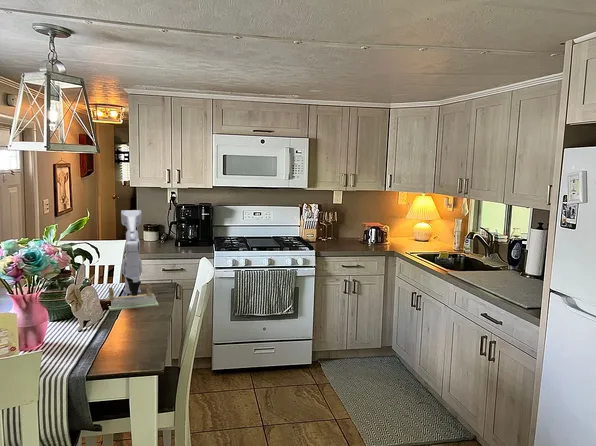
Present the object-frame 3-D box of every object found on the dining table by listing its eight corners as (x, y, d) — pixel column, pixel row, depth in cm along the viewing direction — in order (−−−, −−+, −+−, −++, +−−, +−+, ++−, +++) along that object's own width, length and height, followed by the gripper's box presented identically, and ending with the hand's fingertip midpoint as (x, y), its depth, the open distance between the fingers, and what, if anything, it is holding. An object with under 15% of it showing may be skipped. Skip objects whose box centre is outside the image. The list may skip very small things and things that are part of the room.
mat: (108, 305, 228) (108, 304, 228) (155, 300, 237) (155, 299, 237) (109, 310, 221) (109, 309, 220) (158, 305, 230) (158, 304, 230)
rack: (105, 300, 236) (104, 287, 235) (153, 295, 246) (153, 283, 245) (106, 304, 230) (106, 291, 229) (155, 299, 240) (155, 286, 239)
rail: (111, 307, 223) (111, 301, 223) (111, 305, 226) (110, 299, 225) (155, 302, 232) (155, 297, 232) (154, 301, 235) (154, 295, 234)
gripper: (122, 263, 231) (122, 290, 233) (126, 269, 218) (126, 298, 220) (137, 262, 234) (137, 289, 236) (142, 268, 221) (142, 297, 223)
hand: (133, 293), depth 228 cm, fingers open, 7 cm apart
